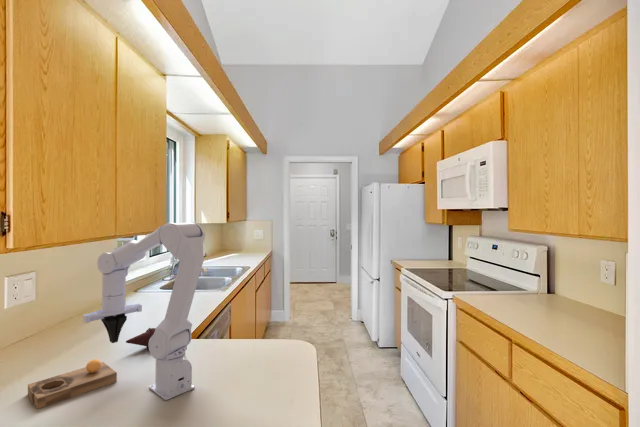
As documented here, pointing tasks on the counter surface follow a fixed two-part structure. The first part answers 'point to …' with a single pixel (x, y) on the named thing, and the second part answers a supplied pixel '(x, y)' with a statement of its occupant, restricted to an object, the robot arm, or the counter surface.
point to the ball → (93, 366)
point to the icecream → (142, 338)
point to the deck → (69, 385)
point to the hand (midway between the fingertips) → (113, 341)
